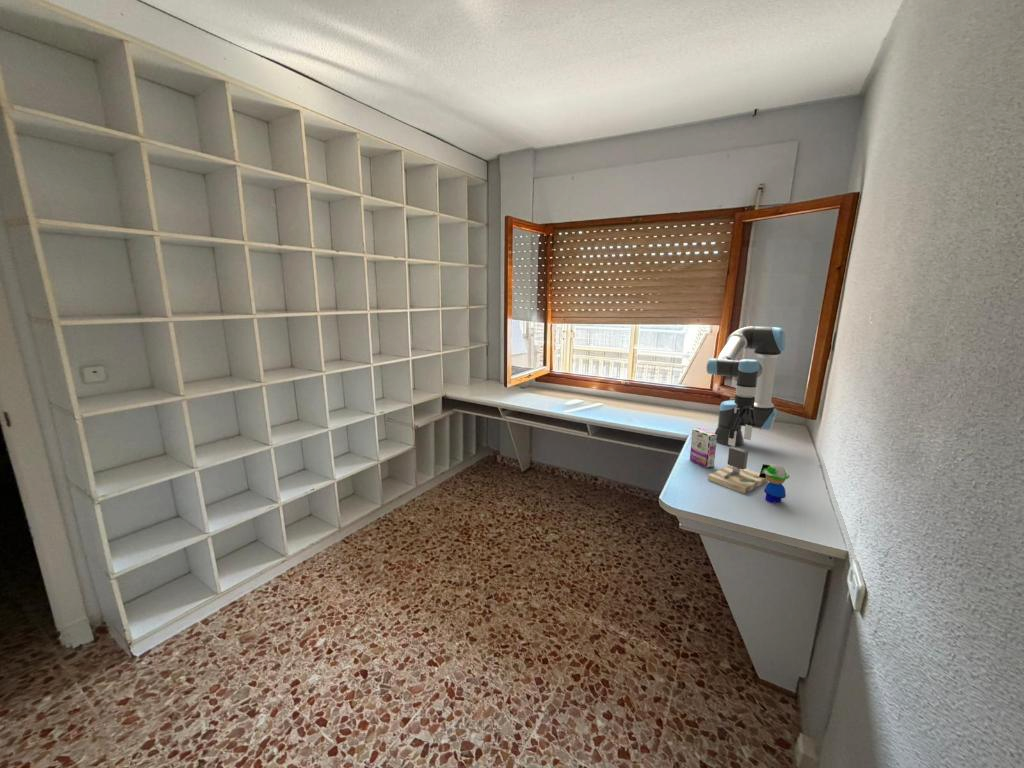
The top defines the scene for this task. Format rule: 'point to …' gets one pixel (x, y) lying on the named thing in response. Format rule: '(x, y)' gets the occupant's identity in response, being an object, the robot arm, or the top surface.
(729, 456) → the peg
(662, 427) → the top surface
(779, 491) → the toy
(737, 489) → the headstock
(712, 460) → the candy bar box
